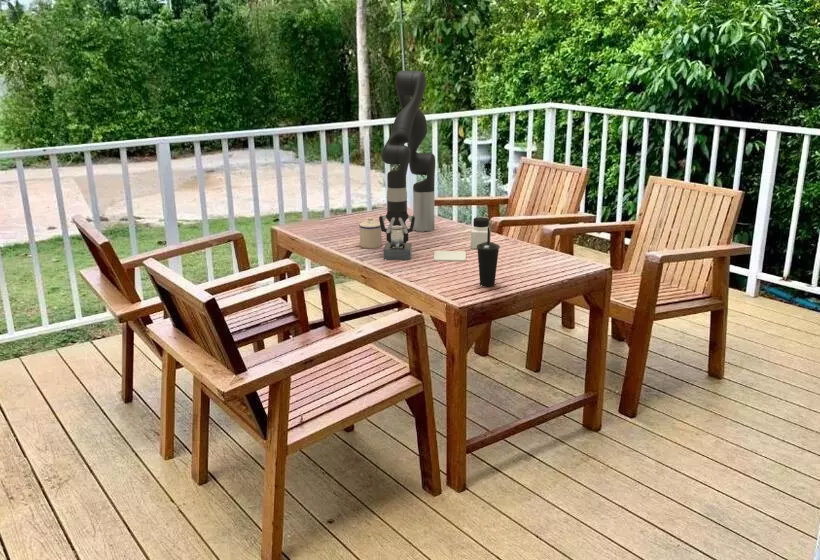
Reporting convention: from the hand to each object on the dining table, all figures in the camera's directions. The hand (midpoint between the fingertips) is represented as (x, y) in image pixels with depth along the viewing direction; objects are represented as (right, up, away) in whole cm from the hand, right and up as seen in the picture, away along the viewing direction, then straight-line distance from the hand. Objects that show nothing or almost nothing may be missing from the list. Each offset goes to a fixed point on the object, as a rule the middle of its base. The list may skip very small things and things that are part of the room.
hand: (397, 242), depth 282 cm
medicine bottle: (+33, -1, +14) cm, 36 cm away
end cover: (0, -5, +2) cm, 6 cm away
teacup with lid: (-12, 0, +18) cm, 21 cm away
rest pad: (+20, -6, 0) cm, 21 cm away
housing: (0, -5, +2) cm, 5 cm away
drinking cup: (+31, -16, -33) cm, 48 cm away
